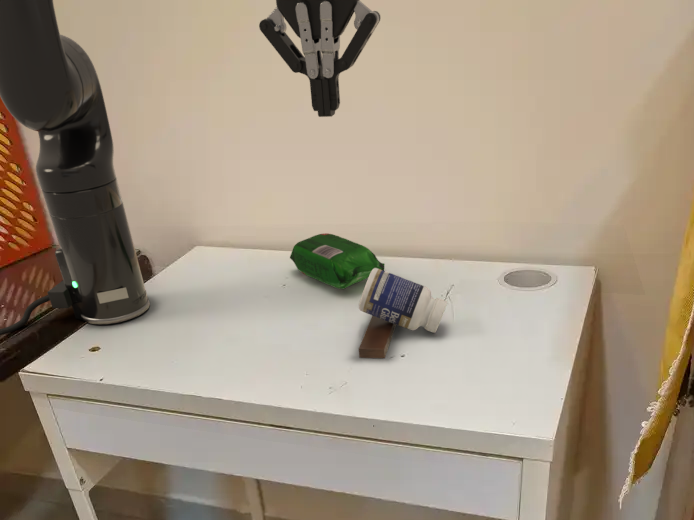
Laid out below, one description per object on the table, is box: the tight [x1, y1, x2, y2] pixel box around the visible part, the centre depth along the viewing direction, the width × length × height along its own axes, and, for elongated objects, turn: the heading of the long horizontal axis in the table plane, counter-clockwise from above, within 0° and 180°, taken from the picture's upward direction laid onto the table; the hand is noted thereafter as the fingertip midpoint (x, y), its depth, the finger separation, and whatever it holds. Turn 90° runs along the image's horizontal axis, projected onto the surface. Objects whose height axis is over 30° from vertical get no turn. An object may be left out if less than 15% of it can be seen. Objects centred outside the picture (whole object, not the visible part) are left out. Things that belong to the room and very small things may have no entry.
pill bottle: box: [358, 268, 448, 334], centre depth 86 cm, size 5×5×10 cm
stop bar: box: [358, 315, 397, 359], centre depth 88 cm, size 3×12×1 cm, turn 168°
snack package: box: [289, 233, 386, 290], centre depth 102 cm, size 7×16×5 cm, turn 35°
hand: (326, 115), depth 79 cm, fingers closed
